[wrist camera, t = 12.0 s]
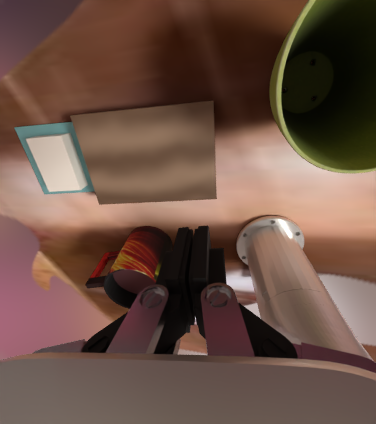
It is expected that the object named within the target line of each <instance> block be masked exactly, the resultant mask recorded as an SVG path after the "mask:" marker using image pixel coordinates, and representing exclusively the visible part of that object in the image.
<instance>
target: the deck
mask: <svg viewBox="0 0 376 424" xmlns="http://www.w3.org/2000/svg"><path fill="white" fill-rule="evenodd" d="M70 117H71V120H72V123H73V126H74V129H75V132H76V135H77V138H78V141H79V144H80V147H81V150H82V153H83V156H84V159H85V163H86V166H87V169H88V172H89V175H90V178H91V181H92V184H93V187H94V190H95V193H96V196H97V199H98V202H99V205H100V204H121V203H142V202H163V201H184V200H205V199H217V198H216V166H215V133H214V101H213V100H212V101H202V102H192V103H182V104H172V105H163V106H153V107H143V108H133V109H123V110H114V111H104V112H94V113H84V114H78V115H71V116H70Z"/></svg>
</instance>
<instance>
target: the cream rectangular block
mask: <svg viewBox="0 0 376 424" xmlns="http://www.w3.org/2000/svg"><path fill="white" fill-rule="evenodd" d="M26 141H27V143H28V145H29V148H30V150H31V152H32V154H33V157H34V159H35V161H36V163H37V166H38V168H39V170H40V173H41V175H42V177H43V179H44V182H45V184H46V186H47V188H48V191H49V192H56V191H74V190H82V189H83V188H84V187H86V186H87V185H88V183H87V180H86V178H85V175H84V172H83V169H82V166H81V163H80V160H79V157H78V154H77V151H76V148H75V145H74V142H73V139H72V136H71V133H65V134H54V135H43V136H35V137H31V138H27V139H26Z"/></svg>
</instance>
